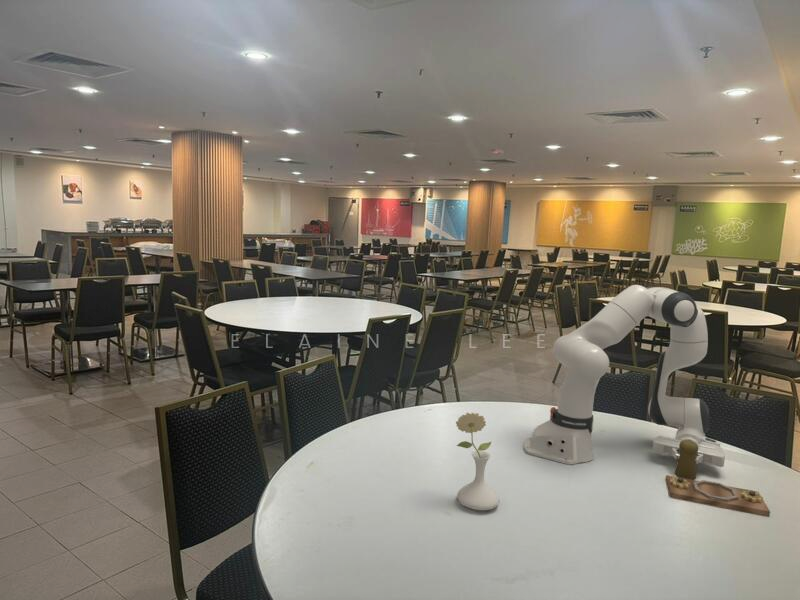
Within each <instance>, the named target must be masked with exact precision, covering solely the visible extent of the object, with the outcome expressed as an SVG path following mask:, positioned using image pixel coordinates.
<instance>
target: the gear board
mask: <svg viewBox="0 0 800 600" xmlns="http://www.w3.org/2000/svg"><path fill="white" fill-rule="evenodd" d="M665 483H666V486H667V490H668V495H669V498H670V497H671V498H670V499H675V500H680V499H681V501H685V502H690V503H691V502H692V503H697V504H700V505H701V504H702V505H707V506H712V507H715V508H716V507H717V508H722V509H727V510H733V511H738V512H744V513H748V514H754V515H759V516H763V517H768V518H769V517H770V515H771V510H770V509H769V507H768V505H767V503H766V501H765V500H764V497H763V495H761V494H760V492H759V491H756V490H752V489H751V490H750V489H745V488H740V487H734V486H729V485H725V484H723V483H721V482H716V481H710V480H705V479H703V480H697V479H695V480H691V479H685V478H681V477H678V476H673V475H669V474H668V475H667V474H666V475H665Z"/></svg>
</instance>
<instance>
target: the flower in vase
mask: <svg viewBox="0 0 800 600" xmlns="http://www.w3.org/2000/svg"><path fill="white" fill-rule="evenodd" d="M485 419H486V418H485V417H484V415H480V414H479V413H478V412H476V413H474V412H471V413H469V412H466V413H465V414H462V415H461V416H459V417H458V419H457V420H456V421H455V425H456V427H457V429H458V430H459V431H461V432H465V434H466V433H468V434H469V433H470V435H471V442H469V441H467V440H466V441H465V440H464V441H461V442H459V443H458V444H456V447H461V448H464V449H470V448H471V447H472V446H473V448H474V450H475V451H473V452H472V453H471V456H472V458H473V459H474V463H475V477H474V479H473V480H472V481H471V482H469V483H467V484H465V485H463V487H461V488H460V489H459V490H458V492H457V493H456V498H457V500H458V501H459V503H460V504H461V505H463V506H464V507H467V508H469V509H470V510H471V509H472V510H475V511H490V510H493V509H495V508H496V507H497V506H499V504H500V502H501V499H500V496H499V494H498V493H497V491H496V490H495V489H493V488H492V487H491V486H490V485H489V484H488V483H487V482H486V480H485V469H486V466H487V462H488V461H489V460H490V458H491V457H492V455H491V453H489V452H486V450H488V449H489V447H490V446H491V444H492V441H488V442H483V443H481V444H480V445H478V448H477V447H476V446H475V443H474V440H473V438H474V436H473V433H477V432H481V431H482V429H484V428H485V426H487V423H486V420H485Z"/></svg>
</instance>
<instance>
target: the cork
mask: <svg viewBox="0 0 800 600" xmlns="http://www.w3.org/2000/svg"><path fill="white" fill-rule="evenodd" d="M679 448H680V450H681V451H680V458H679V460H677V463H676V466H675V468H674V469H675V470H674V475H675V477H681V478H685V479H691V480H697V464H695V458H696V453H697V452H698V445H697V444H696V443H695V442H693V441H689V440H683V441H681V442H680V444H679Z"/></svg>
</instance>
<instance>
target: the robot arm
mask: <svg viewBox="0 0 800 600" xmlns="http://www.w3.org/2000/svg"><path fill="white" fill-rule="evenodd" d="M646 317H648V318H651V319H654V320H656V321H657V322H660V323H665V324H668V325H669V328H670V332H669V333H670V335H669V337H670V340H669V345H668V348H667V349H666V351H662V352H661V353H660V356H659V358H658V363H657V368H656V371H655V379H654V384H653V389H652V396H651V398H650V401H649V404H648V416H649V417H648V418H649V419H650V420H651V421H653V422H654V423H655V424H656V425H658V426H659V425H660V426H678V428H677V431H676V433H675V436H674V438H672V437H667V436H663V435H658V436H656V437H654V439H653V441H652V451H653V452H655V453H656V454H657V453H658V454H662V455H666V456H671V457H673V458H674V460H677V461H678V460H679V458H680V451H681V450H680V448H679V444H680V442H681V441H683V440H689V441H693V442H695V443H696V444H697V445H698V452H697V453H696V458H695V464H696V465H698V464H701V463H702V464H705V465H706V464H707V465H711V466H714V467H719V468H724V466H725V459H726V456H725V455H726V454H725V450H724V449H723V448H722V447H721V442H720V441H718V440H714V439H712V438H709V437H707V436H706V433H707V432H708V430H709V429H710V416H711V415H710V409H709V407H708V404H706V403H705V401H704V400H702V399H701V398H696V397H695V398H694V397H692V398H691V397H676V396H670V395H667V394H666V392H667V391H666V390H667V386H668V380H669V376H670V375H671V373H673V372H675V371H678V370H680V369H683V368H688V367H692V366H693V365H696V364H699V363H700V362H701V361H702V360H704V358H705V357H706V355H707V354H708V348H709V347H708V346H709V345H708V344H709V342H708V341H709V337H708V336H709V334H708V332H709V331H708V326H707V320H706V315H705V313H704V311H703V310H702V309H701V308H700V307H698V306H697V304H696V301H695V300H694V299H693V297H692V296H690V295H689V294H687V293H685V292H681V291H678V290H675V289H673V288H668V287H663V286H662V287H661V286H658V285H656V286H653V285H652V286H646V287H645V286H644V285H640V284H631V285H629V286H628V287H627V288H625V289H623V290H622V291H621V292H620V293H618V294H617V295H616V296H615V297H613V298H612V299H611V300H610V301H609V302H608V303H606V305H605V306H604V307H603V308H602V309H601V310H599V312H598V313H596V315H594V317H592V318H591V319H590V320H589V321H587V322H585V323H584V324H582V325H581V326H579V327H578V328H575V329H574V330H573V331H572V332H570V333H567V334H564V335H562V336H560V337H558V338H557V339H556V340H555V342H554V344H553V347H552V349H553V355H554V356H555V358H556V360H557V361H558V362H559V364H561V365H563V366H564V367H566V371H567V372H566V376H565V379H564V381H563V384H561V385H560V387H559V389H558V398H557V407H554V406H553V407H550V410H549V412H550V416H549V417H550V418H549V420H547V421H545V422H543V423H541V424H539V425H538V426H537V425H536V427H535V428H534V429H533V432H532V435H531V437H529V438H527V439H526V440H525V441H524V442H523V443H524V444H523V450H524V452H525V453H526V454H528V455H531V456H536V457H540V458H543V459H547V460H549V461H550V460H551V461H555V462H558V463H563V464H566V465H569V466H570V465H576V464H578V463H579V464H581V463H587V462H591V461H592V460H593V459H594V457H595V456H594V453H593V445H592V432H593V429H594V421H595V420H594V414H593V412H594V411H593V410H594V402H595V400H594V399H595V395H596V390H597V386H598V385H599V381H600V379H601V378H602V377H603V376H604V375H606V373H607V372H608V370H609V368H610V358H609V356H608V355H607V353H606V352H605V351H604V349H606V348H609V347H611V346H613V345H616V344H618V343H620V342H621V341H622V340H623V339H624V338H625V337H626V336H628V335H629V333H630V332H631V331H632V330H634V329H635V327H636V326H638V325H639V324H640V323H641V322H642V320H643V319H645V318H646Z"/></svg>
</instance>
